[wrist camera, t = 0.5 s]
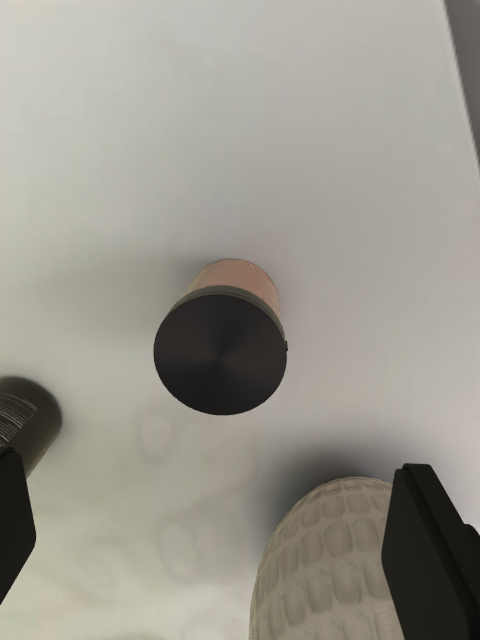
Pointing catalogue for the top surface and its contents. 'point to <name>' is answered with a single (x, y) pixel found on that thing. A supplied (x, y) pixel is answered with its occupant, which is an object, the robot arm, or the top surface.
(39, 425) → the supplement bottle
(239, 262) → the cream jar
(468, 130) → the top surface
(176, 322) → the jar lid
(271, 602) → the vase
